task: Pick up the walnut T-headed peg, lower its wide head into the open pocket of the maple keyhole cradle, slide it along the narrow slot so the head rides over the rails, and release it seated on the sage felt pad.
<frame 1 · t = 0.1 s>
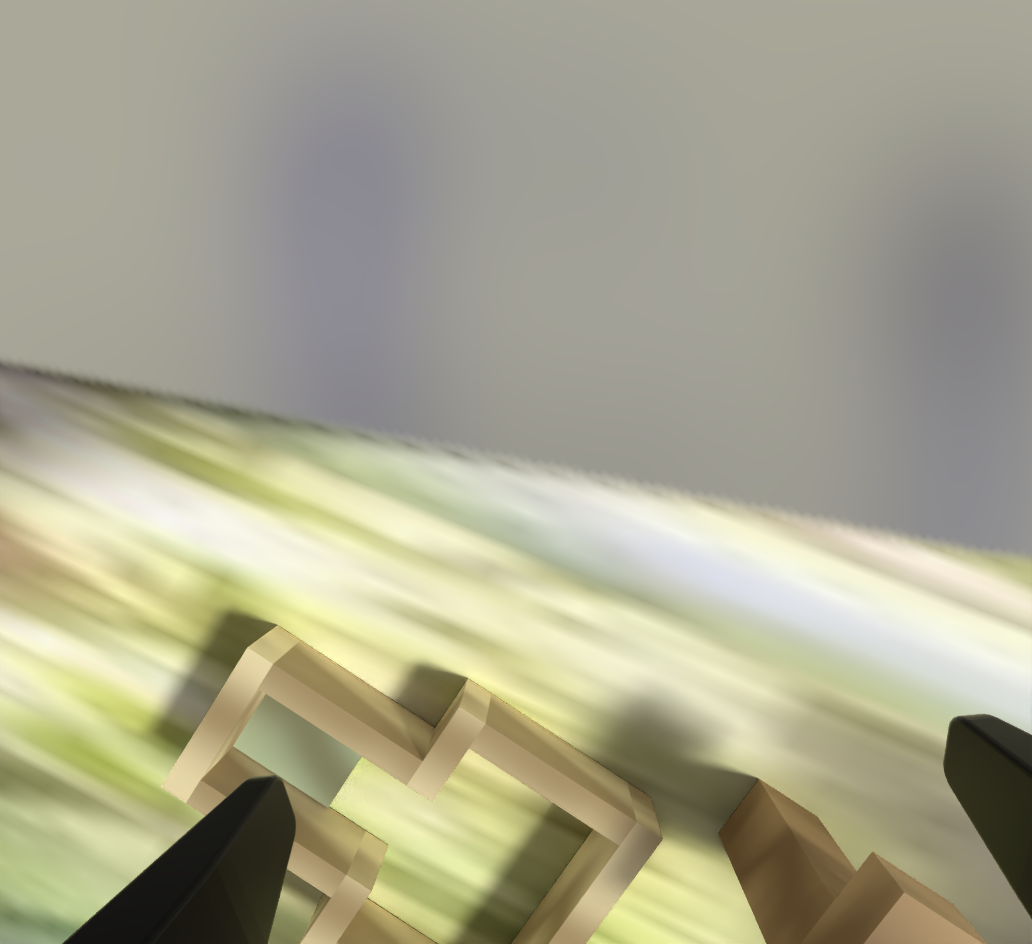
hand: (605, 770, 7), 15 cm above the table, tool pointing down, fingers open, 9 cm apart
tee peg: (767, 825, 23), on the table
keyhole cradle: (396, 793, 24), on the table
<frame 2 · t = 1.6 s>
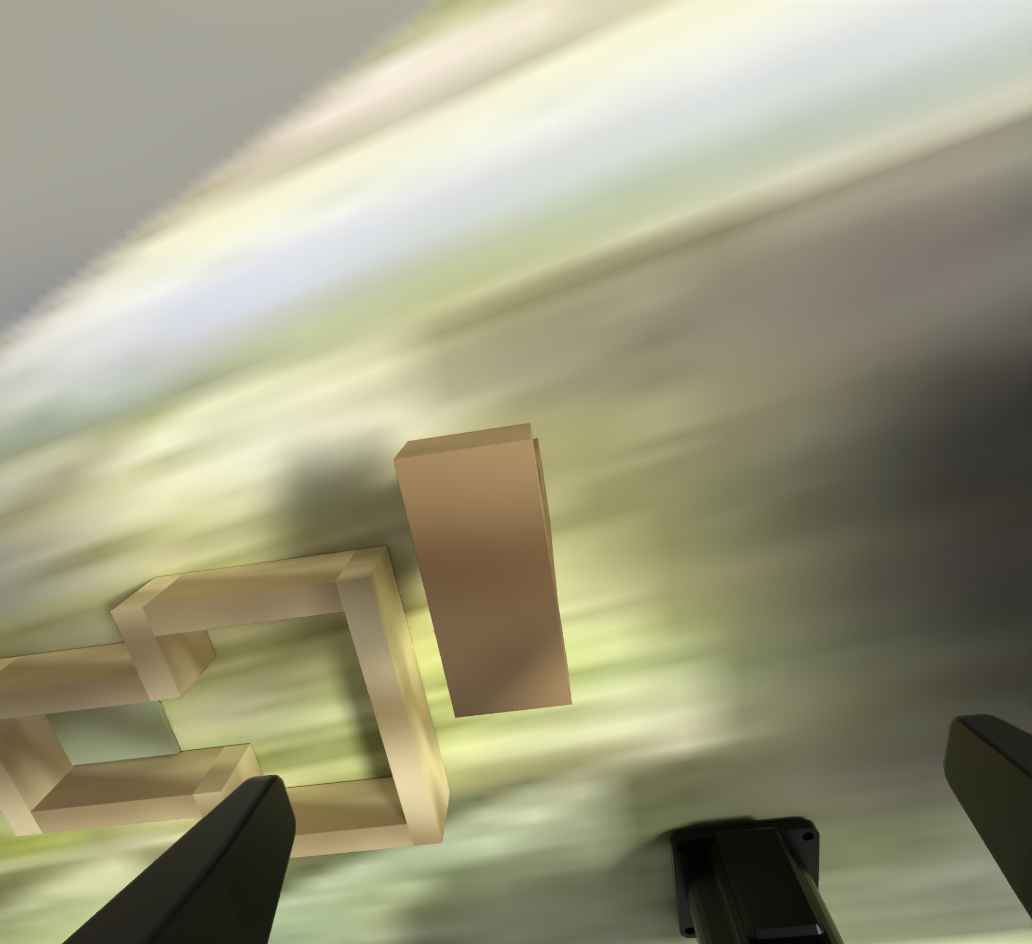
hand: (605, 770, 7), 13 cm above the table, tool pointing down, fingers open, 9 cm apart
tee peg: (503, 483, 20), on the table
keyhole cradle: (211, 704, 23), on the table
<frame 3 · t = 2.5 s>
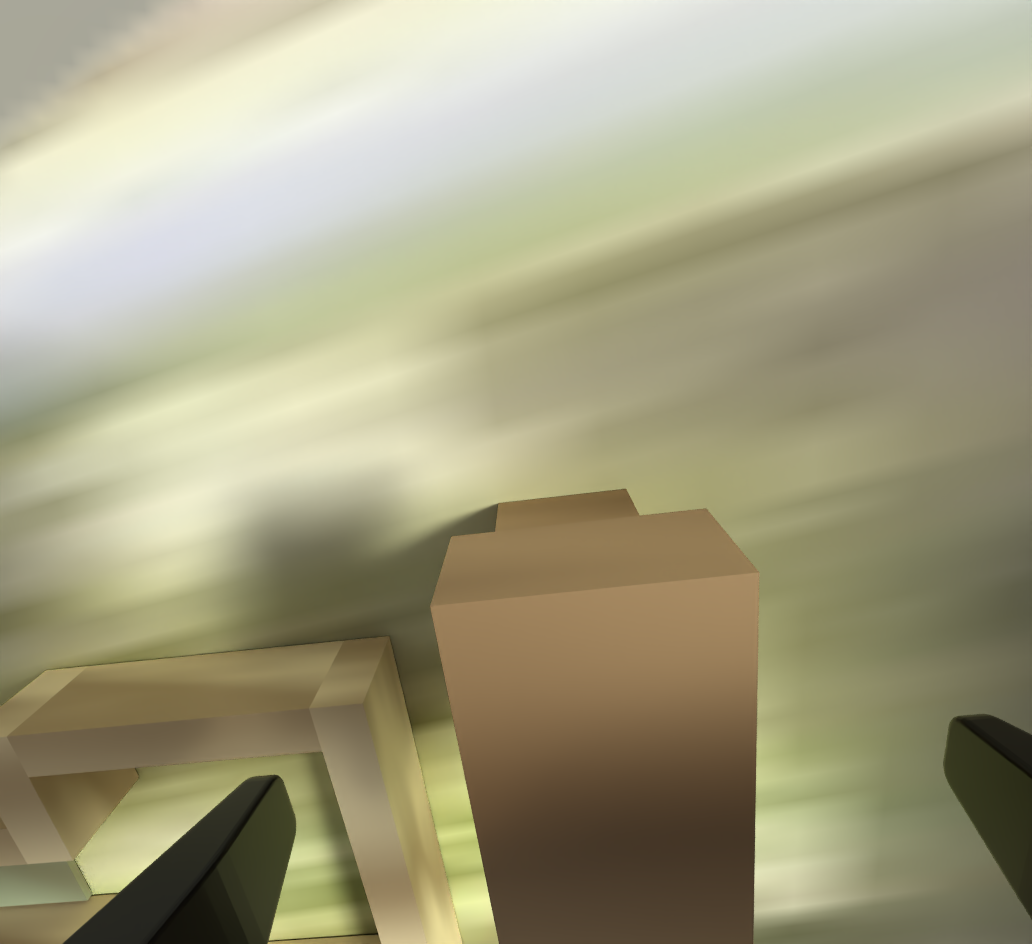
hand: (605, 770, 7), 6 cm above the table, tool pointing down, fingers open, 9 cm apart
tee peg: (568, 553, 13), on the table
keyhole cradle: (133, 838, 16), on the table
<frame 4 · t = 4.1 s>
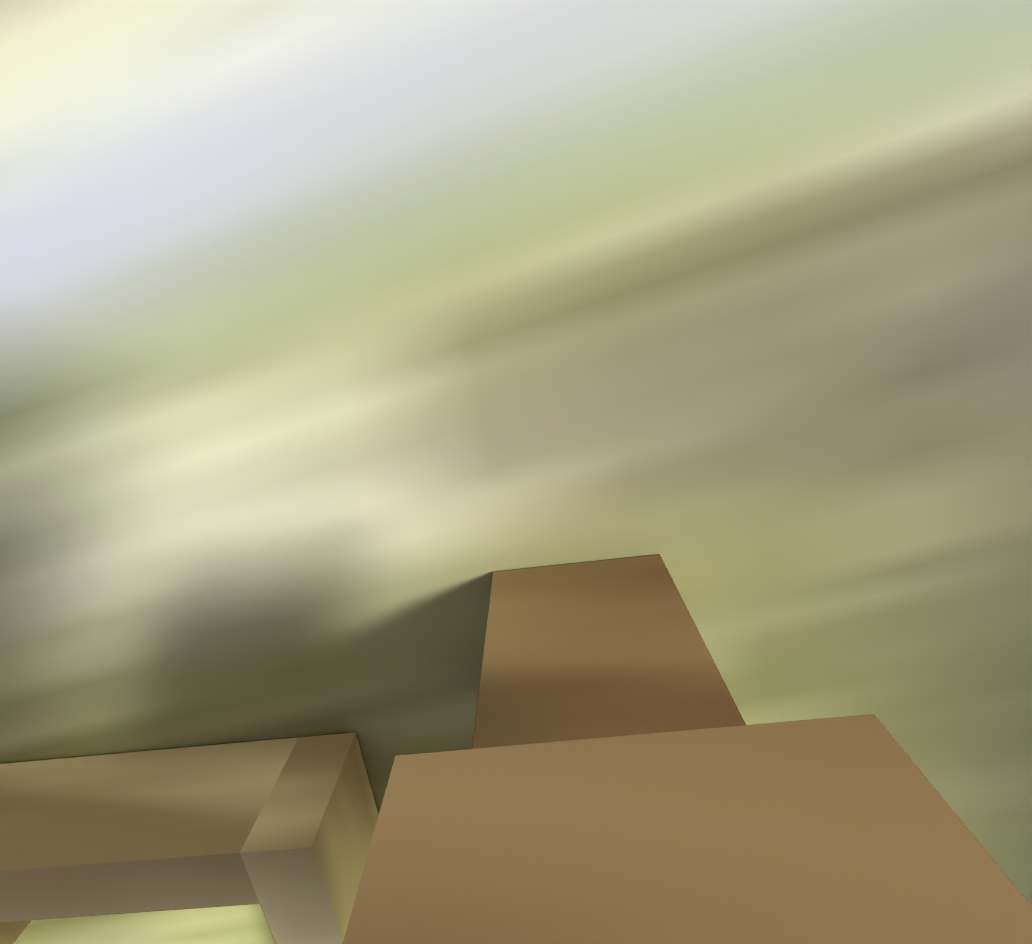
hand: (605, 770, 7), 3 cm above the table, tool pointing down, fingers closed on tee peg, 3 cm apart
tee peg: (582, 633, 10), on the table, touching gripper
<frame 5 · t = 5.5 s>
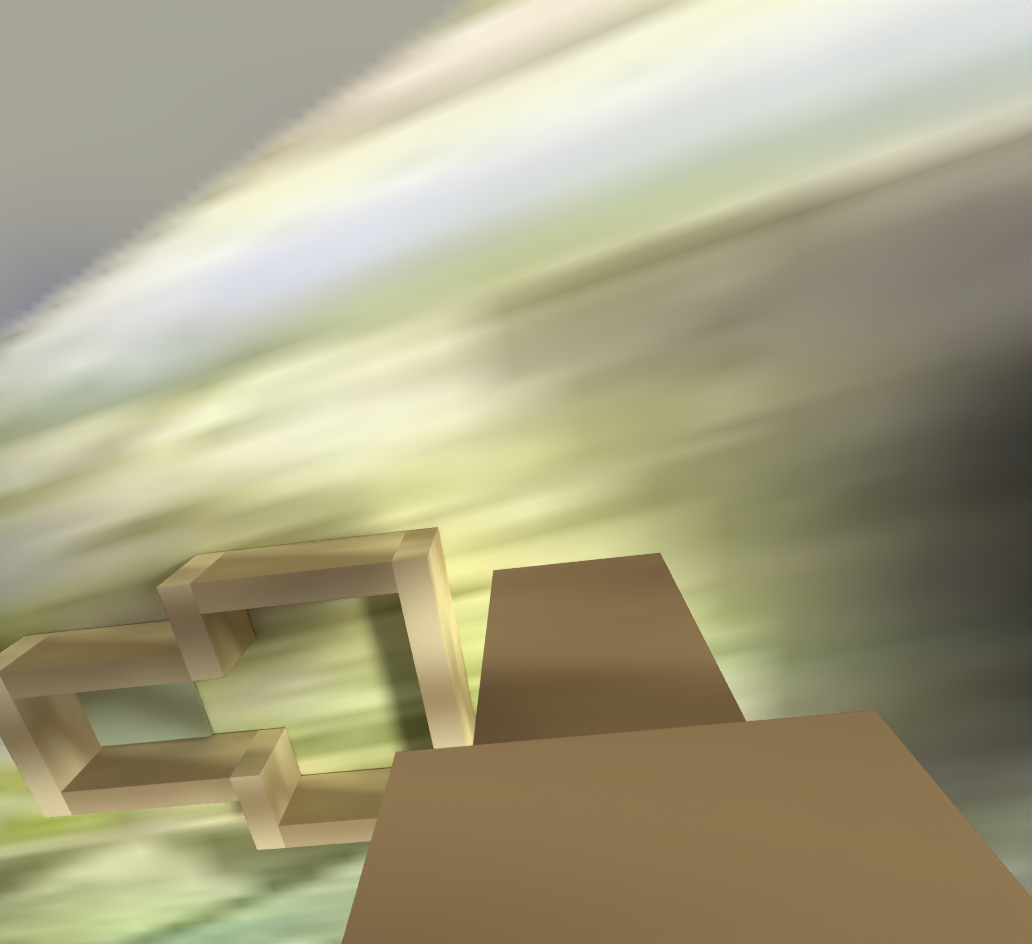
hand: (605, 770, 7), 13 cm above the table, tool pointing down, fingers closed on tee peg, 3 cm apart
tee peg: (583, 632, 10), point 10 cm above the table, touching gripper
keyhole cradle: (247, 686, 23), on the table
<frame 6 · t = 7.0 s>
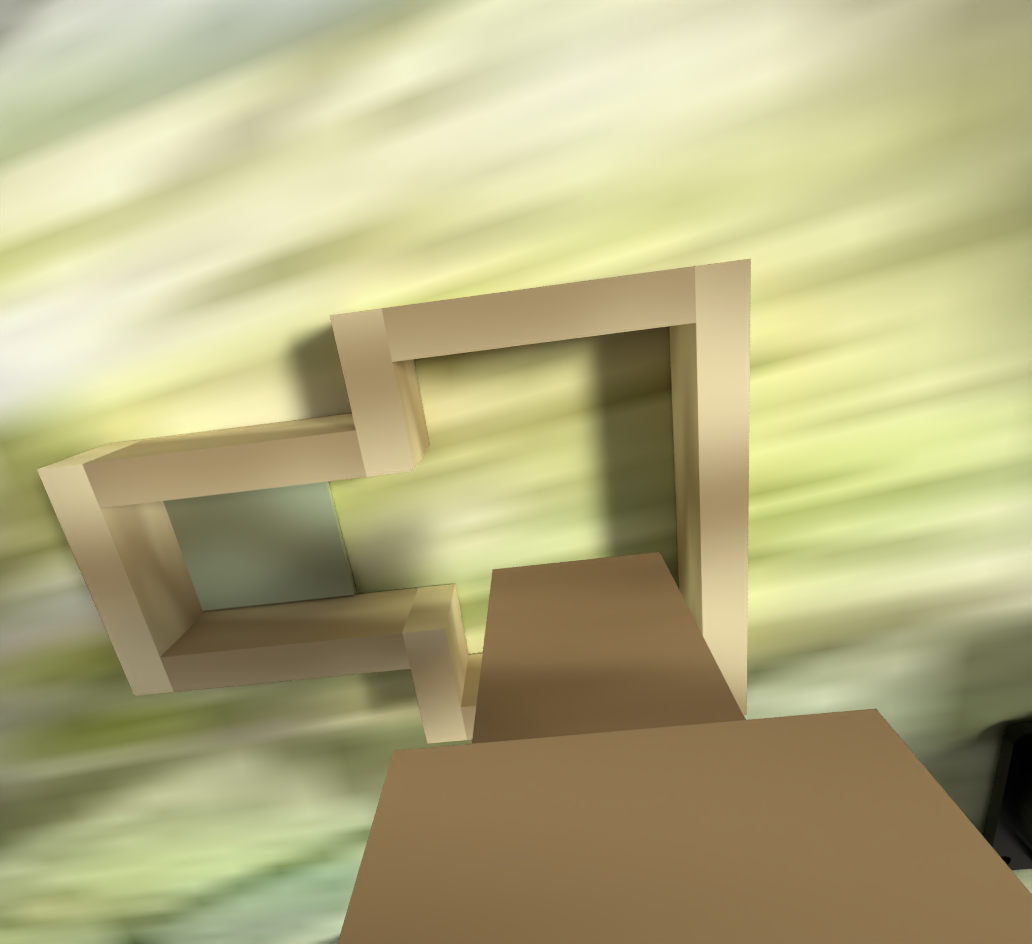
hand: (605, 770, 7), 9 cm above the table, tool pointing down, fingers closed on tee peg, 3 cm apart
tee peg: (582, 631, 10), point 6 cm above the table, touching gripper
keyhole cradle: (410, 521, 16), on the table
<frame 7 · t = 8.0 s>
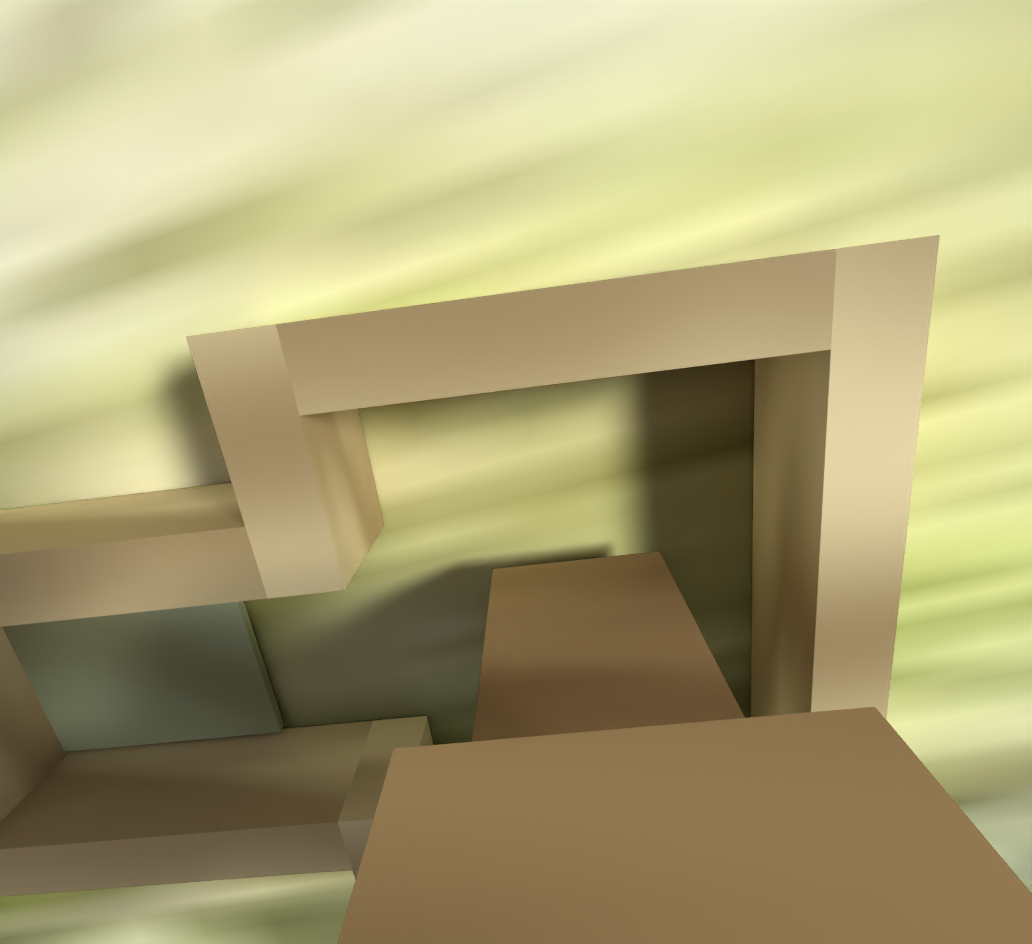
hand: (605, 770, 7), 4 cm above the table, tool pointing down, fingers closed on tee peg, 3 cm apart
tee peg: (582, 631, 10), point 1 cm above the table, touching gripper
keyhole cradle: (359, 631, 11), on the table
when the fingers open (4 cm above the table, at t = 11.3 s): tee peg stays where it is, resting on keyhole cradle.
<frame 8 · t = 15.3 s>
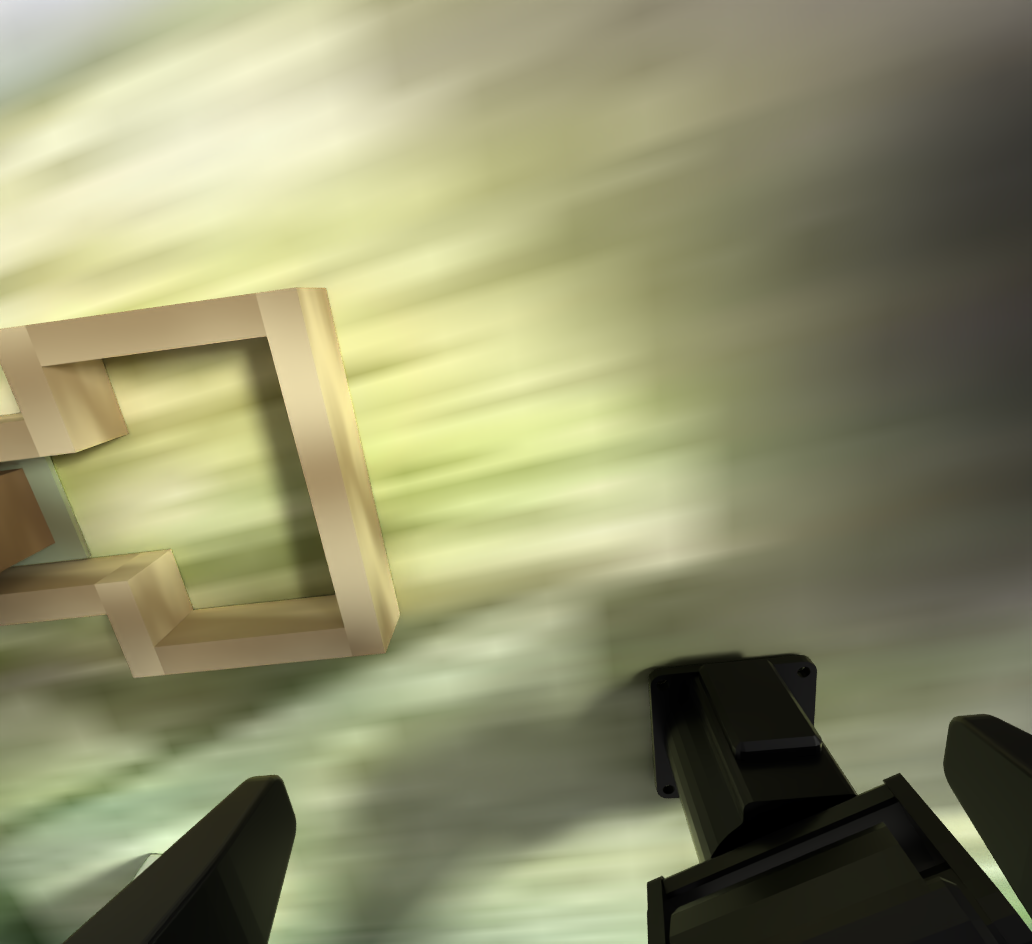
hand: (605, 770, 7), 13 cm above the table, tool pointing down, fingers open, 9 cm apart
tee peg: (1, 510, 20), resting on keyhole cradle
keyhole cradle: (125, 496, 20), on the table
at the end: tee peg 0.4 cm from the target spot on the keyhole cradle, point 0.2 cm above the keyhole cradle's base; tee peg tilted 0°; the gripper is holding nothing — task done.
